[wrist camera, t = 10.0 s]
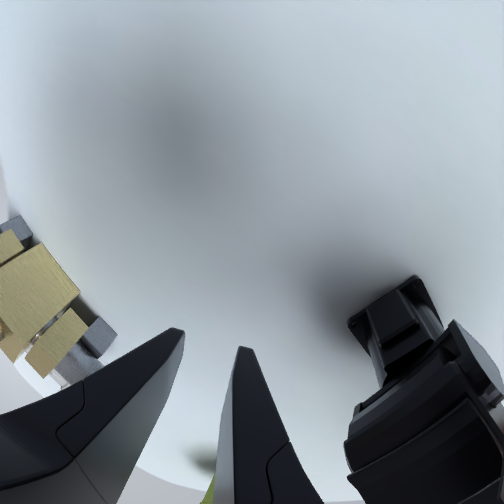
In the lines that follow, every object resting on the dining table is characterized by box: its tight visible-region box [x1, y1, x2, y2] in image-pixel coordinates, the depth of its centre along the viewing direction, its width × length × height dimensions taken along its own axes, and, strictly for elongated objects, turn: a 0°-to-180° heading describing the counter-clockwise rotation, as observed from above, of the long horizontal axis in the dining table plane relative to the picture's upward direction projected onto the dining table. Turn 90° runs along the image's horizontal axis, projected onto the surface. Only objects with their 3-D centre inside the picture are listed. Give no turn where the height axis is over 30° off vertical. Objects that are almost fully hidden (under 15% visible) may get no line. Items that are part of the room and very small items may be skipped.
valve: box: [0, 216, 117, 385], centre depth 19 cm, size 16×5×9 cm, turn 39°
